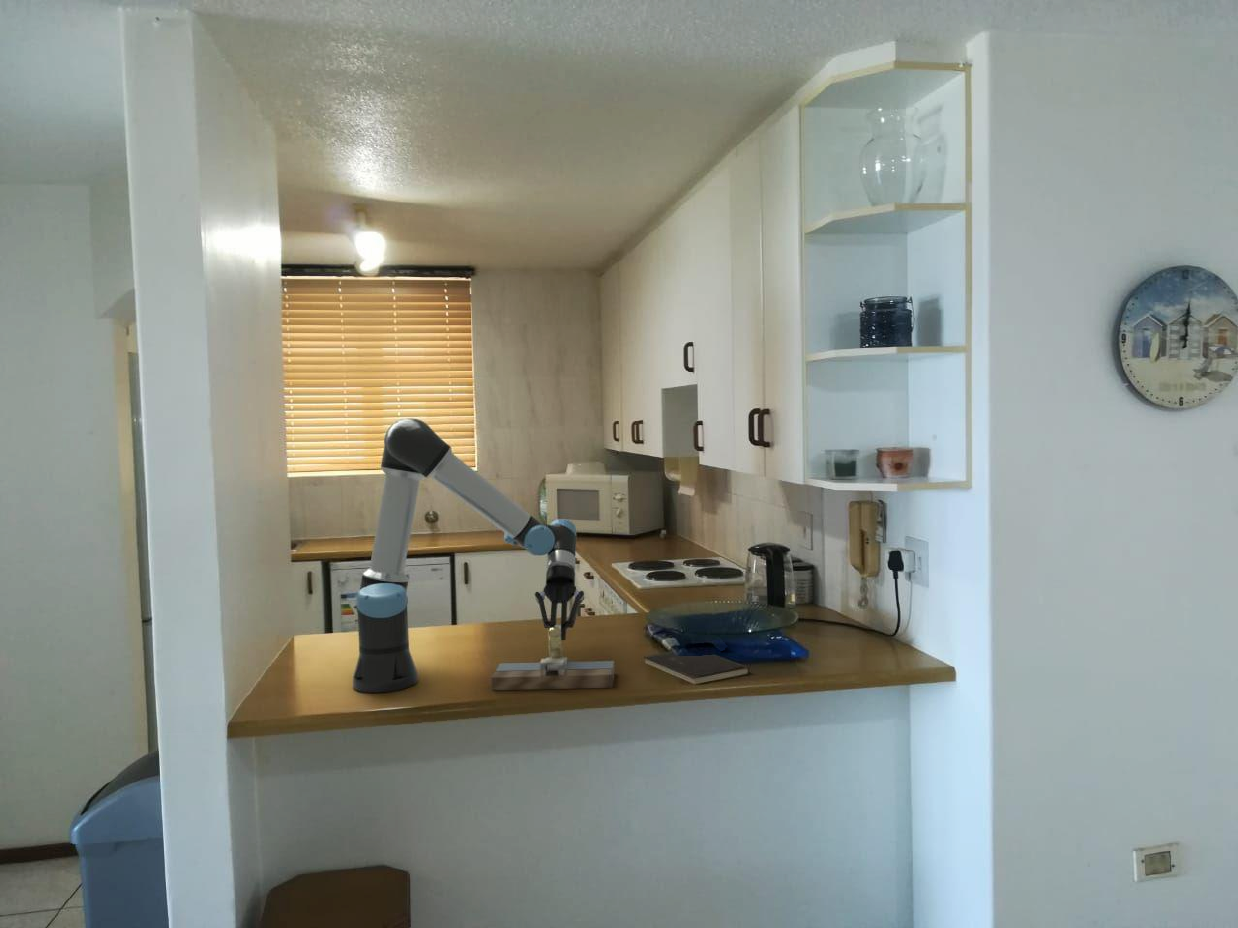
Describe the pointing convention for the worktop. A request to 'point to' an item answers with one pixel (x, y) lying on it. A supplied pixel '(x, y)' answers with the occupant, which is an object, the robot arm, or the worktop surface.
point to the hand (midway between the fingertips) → (557, 650)
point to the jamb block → (552, 678)
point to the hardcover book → (696, 667)
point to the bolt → (554, 646)
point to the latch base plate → (567, 666)
